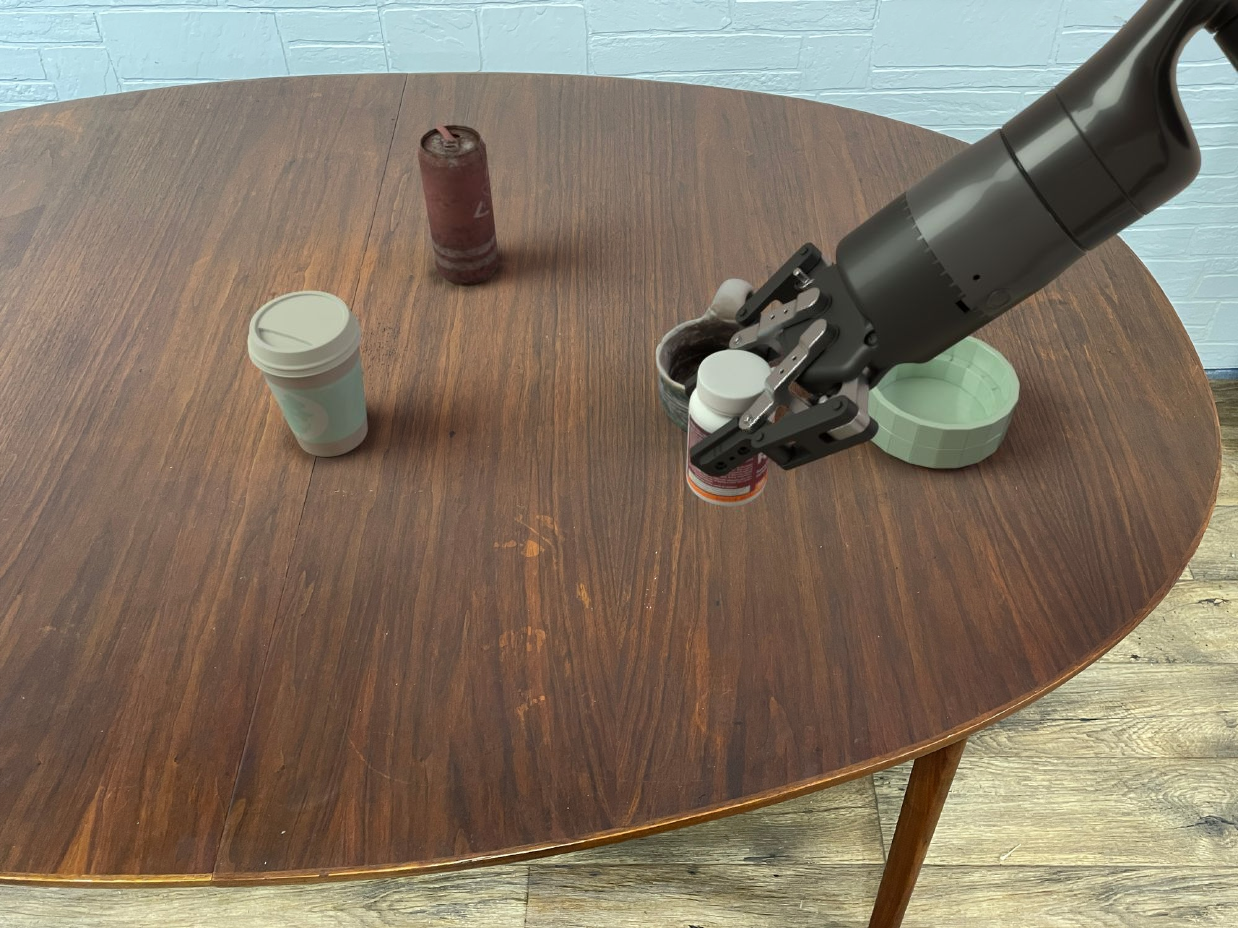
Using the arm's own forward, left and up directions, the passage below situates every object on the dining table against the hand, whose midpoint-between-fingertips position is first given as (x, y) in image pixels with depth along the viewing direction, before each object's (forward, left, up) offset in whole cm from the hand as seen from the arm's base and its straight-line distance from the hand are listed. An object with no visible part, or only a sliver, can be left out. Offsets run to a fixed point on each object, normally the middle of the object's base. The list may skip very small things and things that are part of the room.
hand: (698, 430), depth 59 cm
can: (+20, -43, -20) cm, 52 cm away
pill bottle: (-2, 0, -4) cm, 5 cm away
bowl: (-21, -21, -20) cm, 36 cm away
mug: (-3, -23, -20) cm, 31 cm away
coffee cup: (+29, -20, -20) cm, 40 cm away
